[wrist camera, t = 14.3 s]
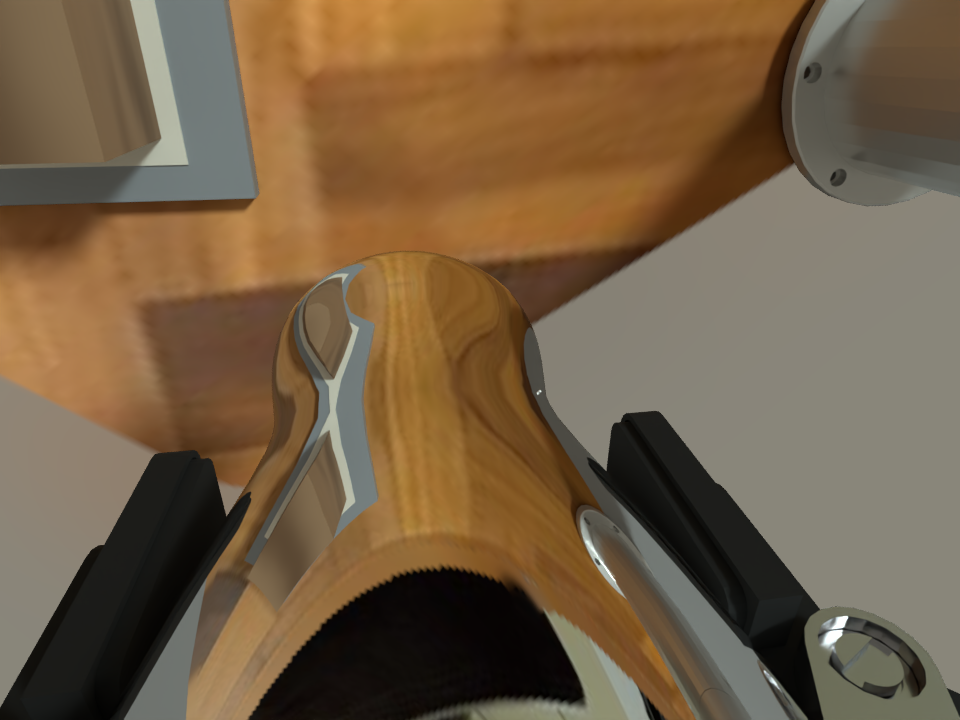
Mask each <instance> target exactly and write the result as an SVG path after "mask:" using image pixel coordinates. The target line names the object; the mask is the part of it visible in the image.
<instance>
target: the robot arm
mask: <svg viewBox="0 0 960 720" xmlns="http://www.w3.org/2000/svg"><path fill="white" fill-rule="evenodd" d="M804 72H805V73H804ZM781 108H782V120H783V132H784V135H785V139H786V142H787V146H788V149H789V153H790V155H791V157H792V158H793V160H794V162H795V164H796V166H797V168H798V169H799V171H800V172H801V173H802V175H804V177H805V178H806V179H807V180H808V181H809V182H810V183H811V184H812V185H813V186H814V187H816V188H817V189H819V190H820V191H822V192H823V193H825V194H827V195H828V196H831V197H834V198H837V199H840V200H842V201H845V202H848V203H853V204H859V205H864V206H881V205H882V206H883V205H891V204H895V203H899V202H904V201H908V200H910V199H913V198H915V197H917V196H920V195H922V194H925V193H927V192H929V191H931V190H934V191H939V192H942V193H947V194H951V195H954V196H958V197H960V0H816V1H815V2H814V4H813V6H812V7H811V9H810V11H809V13H808V14H807V16H806V18H805V19H804V21H803V23H802V25H801V28H800V30H799V33H798V35H797V38H796V40H795V42H794V45H793V47H792V50H791V53H790V57H789V61H788V65H787V69H786V73H785V77H784V84H783V94H782V105H781ZM606 472H607V473H608V474H609V475H610V476H611V477H612V478H613V479H614V480H615V481H616V482H617V484H618V485H619V486H620V487H621V488H622V489H623V490H624V491H625V492H626V493H627V495H628V496H629V497H630V498H631V499H632V500H633V501H634V502H635V503H636V505H637V506H638V507H639V508H640V509H641V510H642V511H643V512H644V513H645V515H646V516H647V517H648V518H649V519H650V520H651V521H652V522H653V524H654V525H655V526H656V527H657V528H658V529H659V530H660V531H661V532H662V534H663V535H664V536H665V537H666V538H667V539H668V540H669V541H670V542H671V544H672V545H673V546H674V547H675V548H676V549H677V550H678V551H679V553H680V554H681V555H682V556H683V557H684V558H685V559H686V560H687V562H688V563H689V564H690V565H691V566H692V567H693V569H694V570H695V571H696V572H697V574H698V575H699V576H700V577H701V579H702V580H703V581H704V582H705V584H706V585H707V586H708V587H709V589H710V590H711V591H712V592H713V594H714V595H715V596H716V597H717V599H718V600H719V601H720V602H721V603H722V605H723V606H724V607H725V608H726V610H727V611H728V612H729V613H730V615H731V616H732V617H733V618H734V620H735V621H736V622H737V623H738V625H739V626H740V627H741V628H742V630H743V631H744V632H745V633H746V635H747V636H748V637H749V638H750V640H751V641H752V642H753V643H754V644H755V646H756V647H757V648H758V649H759V651H760V652H761V653H762V654H763V656H764V657H765V658H766V659H767V661H768V662H769V663H770V664H771V666H772V667H773V668H774V669H775V671H776V672H777V673H778V674H779V676H780V677H781V678H782V680H783V681H784V682H785V684H786V685H787V687H788V688H789V690H790V691H791V693H792V694H793V695H794V697H795V698H796V700H797V701H798V703H799V704H800V706H801V707H802V709H803V710H804V712H805V713H806V714H807V716H808V717H809V719H810V720H960V694H959V693H956V692H954V691H952V690H950V689H948V688H946V686H945V683H944V681H943V679H942V676H941V674H940V672H939V670H938V668H937V667H936V665H935V663H934V662H933V660H932V658H931V657H930V655H929V654H928V653H927V651H926V650H925V649H924V648H923V647H922V646H921V645H920V644H919V643H918V642H917V641H916V640H915V639H914V638H913V637H912V636H910V635H909V634H907V633H906V632H905V631H903V630H902V629H901V628H899V627H897V626H896V625H895V624H893V623H892V622H889V621H887V620H885V619H883V618H881V617H879V616H877V615H875V614H873V613H869V612H866V611H863V610H859V609H856V608H849V607H830V608H825V609H821V610H820V609H819V608H818V606H817V605H816V604H815V602H814V601H813V600H812V599H811V597H810V596H809V595H808V594H807V593H806V591H805V590H804V589H803V587H802V586H801V585H800V584H799V582H798V581H797V580H796V579H795V578H794V576H793V575H792V574H791V572H790V571H789V570H788V568H787V567H786V566H785V565H784V563H783V562H782V561H781V560H780V558H779V557H778V556H777V555H776V553H775V552H774V551H773V549H772V548H771V547H770V546H769V544H768V543H767V542H766V541H765V539H764V538H763V537H762V536H761V534H760V533H759V532H758V530H757V529H756V528H755V527H754V525H753V524H752V523H751V522H750V520H749V519H748V518H747V517H746V515H745V514H744V513H743V511H742V510H741V509H740V508H739V506H738V505H737V504H736V503H735V501H734V500H733V499H732V498H731V496H730V495H729V494H728V493H727V491H726V490H725V489H724V488H723V487H722V486H721V485H719V484H717V483H715V482H714V480H713V479H712V478H711V477H710V475H709V474H708V473H707V471H706V470H705V469H704V468H703V466H702V465H701V464H700V462H699V461H698V460H697V459H696V458H695V456H694V455H693V453H692V452H691V451H690V450H689V448H688V447H687V446H686V445H685V443H684V442H683V441H682V440H681V438H680V437H679V436H678V435H677V433H676V432H675V431H674V429H673V428H672V427H671V425H670V424H669V423H668V422H667V420H666V419H665V418H664V416H663V415H662V414H661V413H660V412H657V411H649V412H638V413H626V414H625V415H623V418H622V420H621V422H620V423H614V424H613V426H612V430H611V438H610V446H609V454H608V464H607V471H606ZM225 518H226V513H225V510H224V505H223V501H222V497H221V493H220V489H219V485H218V481H217V477H216V473H215V469H214V465H213V462H212V461H211V459H209V458H206V459H201V458H200V455H199V454H198V452H197V451H195V450H191V451H179V452H167V453H157V454H155V455H154V456H153V457H152V459H151V460H150V462H149V464H148V466H147V468H146V470H145V471H144V473H143V475H142V477H141V479H140V481H139V482H138V484H137V486H136V488H135V490H134V492H133V494H132V495H131V497H130V499H129V501H128V503H127V504H126V506H125V508H124V510H123V512H122V513H121V515H120V517H119V519H118V521H117V523H116V525H115V526H114V528H113V530H112V532H111V534H110V536H109V537H108V539H107V541H106V543H105V545H99V546H97V547H95V548H94V549H92V550H91V551H90V553H89V554H88V556H87V557H86V558H85V560H84V562H83V563H82V565H81V567H80V569H79V570H78V572H77V574H76V576H75V577H74V579H73V581H72V583H71V584H70V586H69V588H68V590H67V591H66V593H65V595H64V597H63V598H62V600H61V602H60V604H59V606H58V607H57V609H56V611H55V613H54V614H53V616H52V618H51V620H50V621H49V623H48V625H47V626H46V628H45V630H44V632H43V634H42V635H41V637H40V639H39V641H38V642H37V644H36V646H35V648H34V649H33V651H32V653H31V655H30V656H29V658H28V660H27V662H26V663H25V665H24V667H23V669H22V670H21V672H20V674H19V676H18V677H17V679H16V681H15V683H14V685H13V686H12V688H11V690H10V691H9V693H8V695H7V697H6V698H5V700H4V702H3V704H2V706H1V707H0V720H108V718H109V716H110V714H111V713H112V711H113V709H114V707H115V705H116V703H117V702H118V700H119V698H120V696H121V694H122V692H123V690H124V689H125V687H126V685H127V683H128V681H129V679H130V678H131V676H132V674H133V672H134V670H135V668H136V666H137V665H138V663H139V661H140V659H141V657H142V655H143V654H144V652H145V650H146V648H147V646H148V644H149V643H150V641H151V639H152V638H153V636H154V634H155V633H156V631H157V629H158V628H159V626H160V624H161V623H162V621H163V619H164V618H165V616H166V614H167V613H168V611H169V610H170V608H171V606H172V605H173V603H174V601H175V600H176V598H177V596H178V595H179V593H180V591H181V590H182V588H183V587H184V585H185V583H186V582H187V580H188V578H189V577H190V575H191V573H192V572H193V570H194V568H195V567H196V565H197V564H198V562H199V560H200V559H201V557H202V555H203V554H204V552H205V550H206V549H207V547H208V546H209V544H210V542H211V541H212V539H213V537H214V536H215V534H216V533H217V531H218V530H219V528H220V526H221V525H222V523H223V522H224V520H225Z"/></svg>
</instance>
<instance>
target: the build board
mask: <svg viewBox="0 0 960 720" xmlns="http://www.w3.org/2000/svg"><path fill="white" fill-rule="evenodd" d="M130 1H131V6H132V10H133V15H134V19H135V24H136V28H137V32H138V37H139V41H140V46H141V50H142V54H143V59H144V63H145V68H146V72H147V76H148V81H149V85H150V90H151V94H152V99H153V103H154V107H155V112H156V116H157V121H158V125H159V129H160V134H161V139H159V140H157V141H154V142H152V143H150V144H147V145H145V146H142V147H140V148H138V149H135V150H133V151H131V152H128V153H126V154H123V155H121V156H119V157H116V158H114V159H112V160H109V161H107V162H94V163H51V164H7V165H0V206H6V205H41V204H76V203H111V202H146V201H181V200H216V199H251V198H256V197H257V196H258V195H259V188H258V182H257V175H256V169H255V163H254V157H253V150H252V144H251V138H250V131H249V125H248V119H247V113H246V106H245V100H244V94H243V88H242V81H241V75H240V69H239V63H238V56H237V50H236V44H235V38H234V31H233V25H232V19H231V13H230V6H229V0H130Z"/></svg>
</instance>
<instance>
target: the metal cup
mask: <svg viewBox="0 0 960 720" xmlns="http://www.w3.org/2000/svg"><path fill="white" fill-rule="evenodd" d="M272 400H273V413H274V428H273V433H272V437H271V439H270V442H269V445H268V447H267V450H266V452H265V454H264V456H263V457H262V459H261V461H260V463H259V464H258V466H257V468H256V470H255V471H254V473H253V475H252V477H251V478H250V480H249V482H248V484H247V485H246V487H245V488H244V490H243V492H242V493H241V495H240V496H239V498H238V499H237V501H236V503H235V504H234V506H233V507H232V509H231V511H230V512H229V514H228V515H227V517H226V518H225V520H224V522H223V523H222V525H221V526H220V528H219V530H218V531H217V533H216V534H215V536H214V537H213V539H212V541H211V542H210V544H209V546H208V547H207V549H206V550H205V552H204V554H203V555H202V557H201V559H200V560H199V562H198V564H197V565H196V567H195V568H194V570H193V572H192V573H191V575H190V577H189V578H188V580H187V582H186V583H185V585H184V587H183V588H182V590H181V591H180V593H179V595H178V596H177V598H176V600H175V601H174V603H173V605H172V606H171V608H170V610H169V611H168V613H167V614H166V616H165V618H164V619H163V621H162V623H161V624H160V626H159V628H158V629H157V631H156V633H155V634H154V636H153V638H152V639H151V641H150V643H149V644H148V646H147V648H146V650H145V652H144V654H143V655H142V657H141V659H140V661H139V663H138V665H137V666H136V668H135V670H134V672H133V674H132V676H131V678H130V679H129V681H128V683H127V685H126V687H125V689H124V690H123V692H122V694H121V696H120V698H119V700H118V702H117V703H116V705H115V707H114V709H113V711H112V713H111V714H110V716H109V718H108V720H810V719H809V717H808V716H807V714H806V713H805V712H804V710H803V709H802V707H801V706H800V704H799V703H798V701H797V700H796V698H795V697H794V695H793V694H792V693H791V691H790V690H789V688H788V687H787V685H786V684H785V682H784V681H783V680H782V678H781V677H780V676H779V674H778V673H777V672H776V671H775V669H774V668H773V667H772V666H771V664H770V663H769V662H768V661H767V659H766V658H765V657H764V656H763V654H762V653H761V652H760V651H759V649H758V648H757V647H756V646H755V644H754V643H753V642H752V641H751V640H750V638H749V637H748V636H747V635H746V633H745V632H744V631H743V630H742V628H741V627H740V626H739V625H738V623H737V622H736V621H735V620H734V618H733V617H732V616H731V615H730V613H729V612H728V611H727V610H726V608H725V607H724V606H723V605H722V603H721V602H720V601H719V600H718V599H717V597H716V596H715V595H714V594H713V592H712V591H711V590H710V589H709V587H708V586H707V585H706V584H705V582H704V581H703V580H702V579H701V577H700V576H699V575H698V574H697V572H696V571H695V570H694V569H693V567H692V566H691V565H690V564H689V563H688V562H687V560H686V559H685V558H684V557H683V556H682V555H681V554H680V553H679V551H678V550H677V549H676V548H675V547H674V546H673V545H672V544H671V542H670V541H669V540H668V539H667V538H666V537H665V536H664V535H663V534H662V532H661V531H660V530H659V529H658V528H657V527H656V526H655V525H654V524H653V522H652V521H651V520H650V519H649V518H648V517H647V516H646V515H645V513H644V512H643V511H642V510H641V509H640V508H639V507H638V506H637V505H636V503H635V502H634V501H633V500H632V499H631V498H630V497H629V496H628V495H627V493H626V492H625V491H624V490H623V489H622V488H621V487H620V486H619V485H618V484H617V482H616V481H615V480H614V479H613V478H612V477H611V476H610V475H609V474H608V473H607V472H606V471H605V470H604V469H603V467H602V466H601V465H600V464H599V463H598V462H597V461H596V460H595V459H594V458H593V457H592V456H591V455H590V453H589V452H587V450H586V449H585V448H584V447H583V446H582V445H581V444H580V443H579V442H578V440H577V439H576V438H575V437H574V436H573V434H572V433H571V432H570V431H569V430H568V429H567V427H566V426H565V425H564V424H563V423H562V422H561V420H560V419H559V418H558V417H557V415H556V414H555V412H554V410H553V409H552V407H551V406H550V404H549V402H548V400H547V397H546V392H545V383H544V375H543V368H542V361H541V356H540V351H539V346H538V342H537V339H536V336H535V333H534V331H533V328H532V325H531V323H530V321H529V319H528V317H527V315H526V313H525V312H524V310H523V308H522V307H521V305H520V304H519V303H518V301H517V300H516V299H515V297H514V296H513V295H512V294H511V293H510V292H509V291H508V290H507V289H506V288H505V287H504V286H503V285H502V284H501V283H500V282H498V281H497V280H496V279H494V278H493V277H492V276H490V275H489V274H487V273H485V272H484V271H482V270H480V269H479V268H477V267H475V266H473V265H471V264H469V263H466V262H464V261H461V260H459V259H456V258H453V257H450V256H446V255H442V254H438V253H432V252H425V251H394V252H387V253H381V254H376V255H372V256H369V257H365V258H362V259H359V260H356V261H354V262H352V263H349V264H347V265H345V266H343V267H341V268H339V269H337V270H336V271H334V272H332V273H331V274H329V275H328V276H326V277H325V278H324V279H322V280H321V281H319V282H318V283H317V284H316V285H315V286H313V287H312V288H311V289H310V290H309V291H308V292H307V293H306V294H305V295H304V296H303V297H302V298H301V300H300V301H299V302H298V303H297V304H296V306H295V307H294V309H293V310H292V311H291V313H290V315H289V316H288V318H287V320H286V322H285V323H284V326H283V328H282V330H281V332H280V335H279V338H278V341H277V344H276V348H275V353H274V357H273V365H272Z"/></svg>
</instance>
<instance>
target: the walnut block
mask: <svg viewBox="0 0 960 720" xmlns="http://www.w3.org/2000/svg"><path fill="white" fill-rule="evenodd" d="M159 139H161V134H160V129H159V125H158V121H157V116H156V112H155V107H154V103H153V99H152V94H151V90H150V85H149V81H148V76H147V72H146V68H145V63H144V59H143V54H142V50H141V46H140V41H139V37H138V32H137V28H136V24H135V19H134V15H133V10H132V6H131V1H130V0H0V165H7V164H51V163H94V162H107V161H109V160H112V159H114V158H116V157H119V156H121V155H123V154H126V153H128V152H131V151H133V150H135V149H138V148H140V147H142V146H145V145H147V144H150V143H152V142H154V141H157V140H159Z"/></svg>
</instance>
